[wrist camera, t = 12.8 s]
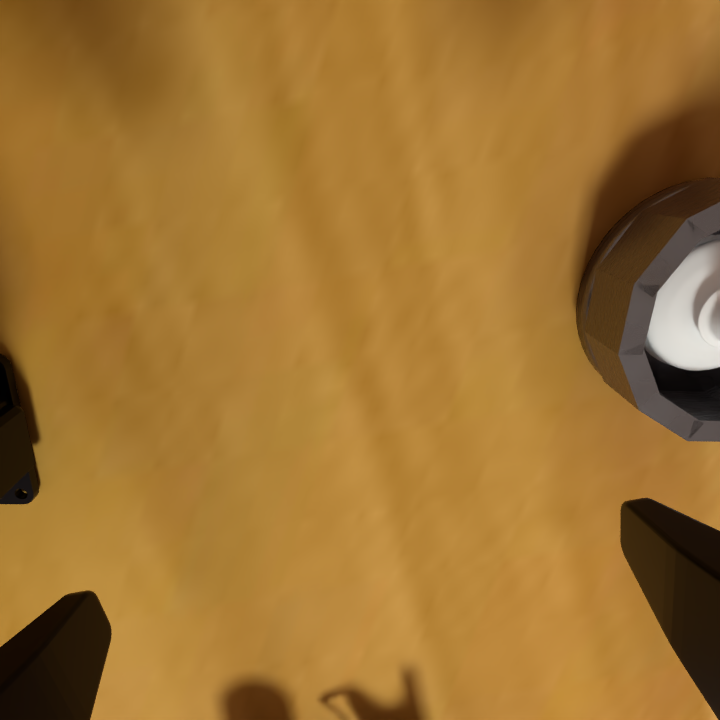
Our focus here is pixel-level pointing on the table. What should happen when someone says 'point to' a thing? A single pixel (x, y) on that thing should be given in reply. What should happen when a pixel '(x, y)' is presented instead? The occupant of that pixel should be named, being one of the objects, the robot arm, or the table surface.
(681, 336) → the chess piece
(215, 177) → the table surface
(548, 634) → the table surface
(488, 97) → the table surface
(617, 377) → the mount
